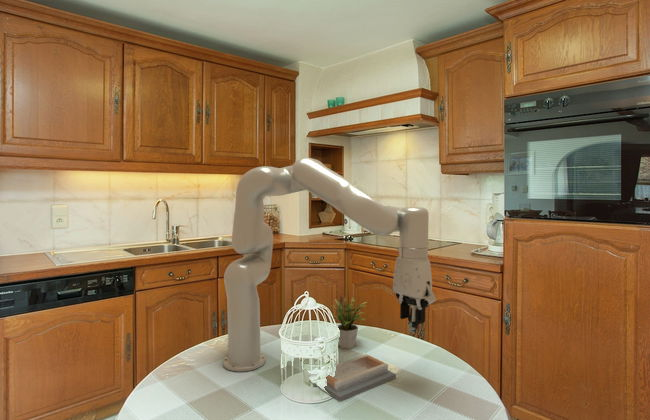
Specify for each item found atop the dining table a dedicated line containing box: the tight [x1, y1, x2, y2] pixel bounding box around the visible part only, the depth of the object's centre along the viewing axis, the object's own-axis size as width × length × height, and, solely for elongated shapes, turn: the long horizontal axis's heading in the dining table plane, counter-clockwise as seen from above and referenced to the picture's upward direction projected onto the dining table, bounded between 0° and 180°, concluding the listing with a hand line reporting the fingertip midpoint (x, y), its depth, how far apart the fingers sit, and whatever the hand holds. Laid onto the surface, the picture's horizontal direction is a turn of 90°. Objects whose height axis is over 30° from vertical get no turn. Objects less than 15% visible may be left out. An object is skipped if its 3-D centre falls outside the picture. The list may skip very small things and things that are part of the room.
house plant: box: [331, 296, 368, 350], centre depth 131 cm, size 14×14×16 cm
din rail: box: [326, 353, 389, 392], centre depth 108 cm, size 9×18×2 cm, turn 127°
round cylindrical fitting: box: [405, 296, 423, 334], centre depth 106 cm, size 7×5×10 cm
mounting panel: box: [324, 369, 397, 402], centre depth 108 cm, size 13×20×1 cm, turn 127°
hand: (412, 319), depth 107 cm, fingers closed on round cylindrical fitting, 4 cm apart
